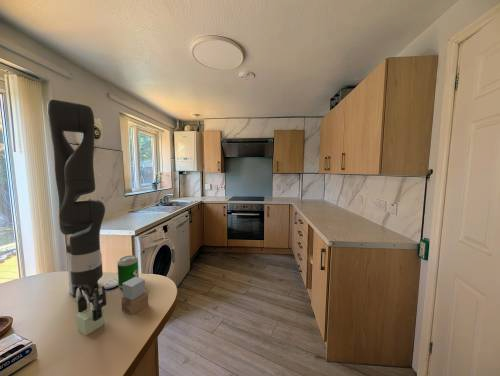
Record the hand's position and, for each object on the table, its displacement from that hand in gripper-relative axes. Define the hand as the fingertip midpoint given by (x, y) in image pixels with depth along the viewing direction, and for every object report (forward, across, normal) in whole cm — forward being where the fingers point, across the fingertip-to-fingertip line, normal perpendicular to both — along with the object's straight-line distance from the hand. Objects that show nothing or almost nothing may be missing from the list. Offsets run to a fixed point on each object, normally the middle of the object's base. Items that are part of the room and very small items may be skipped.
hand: (89, 314), depth 62 cm
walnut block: (+4, +4, +12) cm, 14 cm away
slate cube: (-1, +4, +12) cm, 13 cm away
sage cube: (+4, 0, 0) cm, 4 cm away
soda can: (+4, -12, +20) cm, 24 cm away
